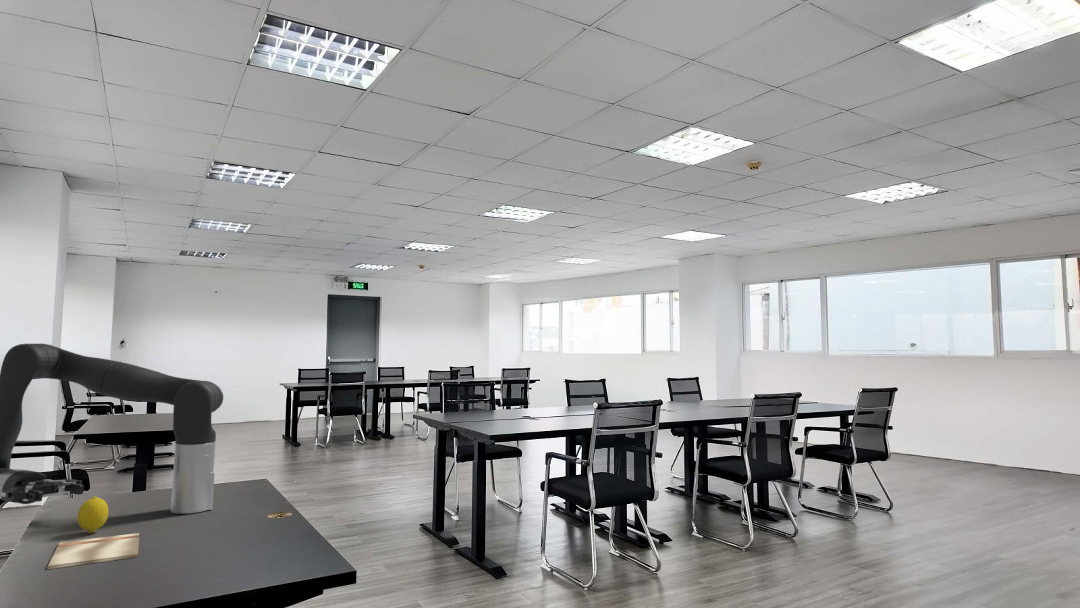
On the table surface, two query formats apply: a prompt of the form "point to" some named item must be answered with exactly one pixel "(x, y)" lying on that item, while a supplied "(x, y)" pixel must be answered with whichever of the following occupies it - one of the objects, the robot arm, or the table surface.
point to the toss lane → (95, 550)
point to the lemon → (93, 514)
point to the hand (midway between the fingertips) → (61, 493)
